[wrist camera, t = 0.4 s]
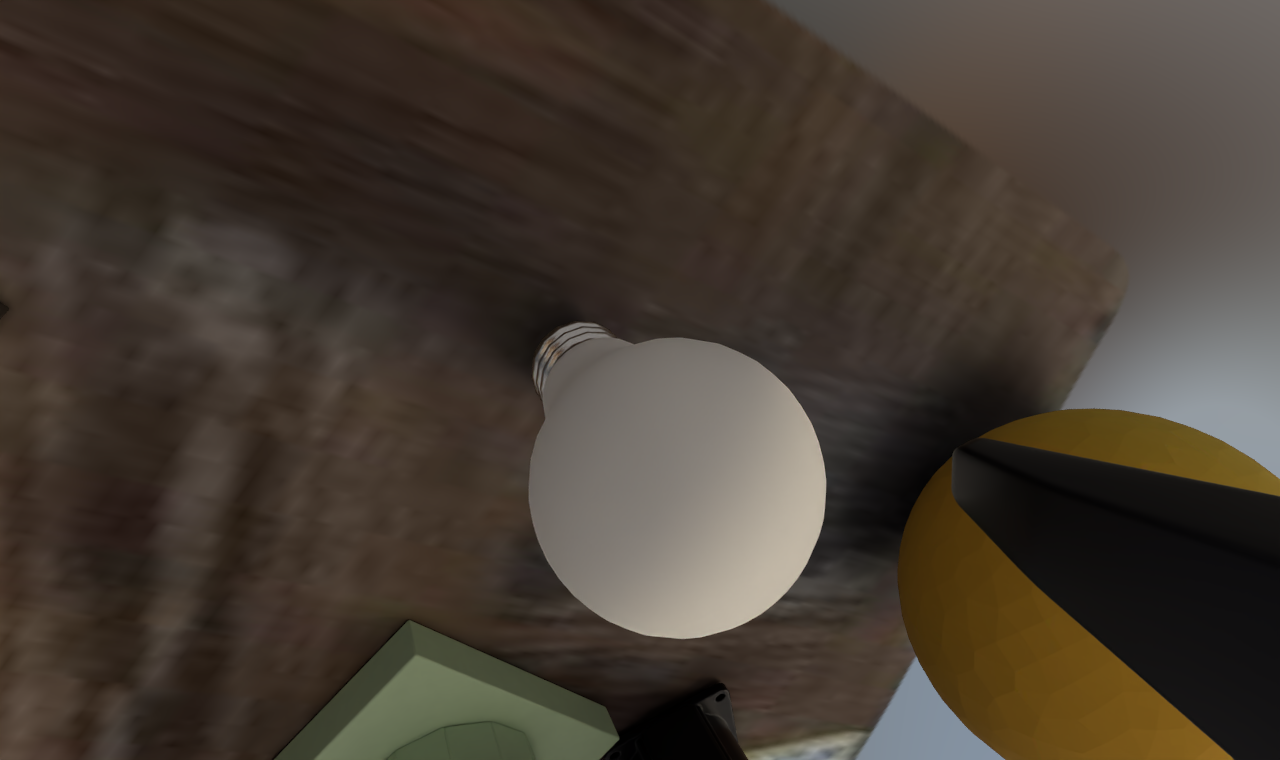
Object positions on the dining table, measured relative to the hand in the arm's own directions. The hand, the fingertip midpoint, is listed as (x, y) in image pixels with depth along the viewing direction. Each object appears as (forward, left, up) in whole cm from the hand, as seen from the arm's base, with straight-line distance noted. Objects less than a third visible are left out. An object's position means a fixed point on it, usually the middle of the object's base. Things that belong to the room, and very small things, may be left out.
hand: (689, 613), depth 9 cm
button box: (-17, +7, -13) cm, 23 cm away
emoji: (-10, -18, -7) cm, 22 cm away
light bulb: (-3, -2, -14) cm, 14 cm away
